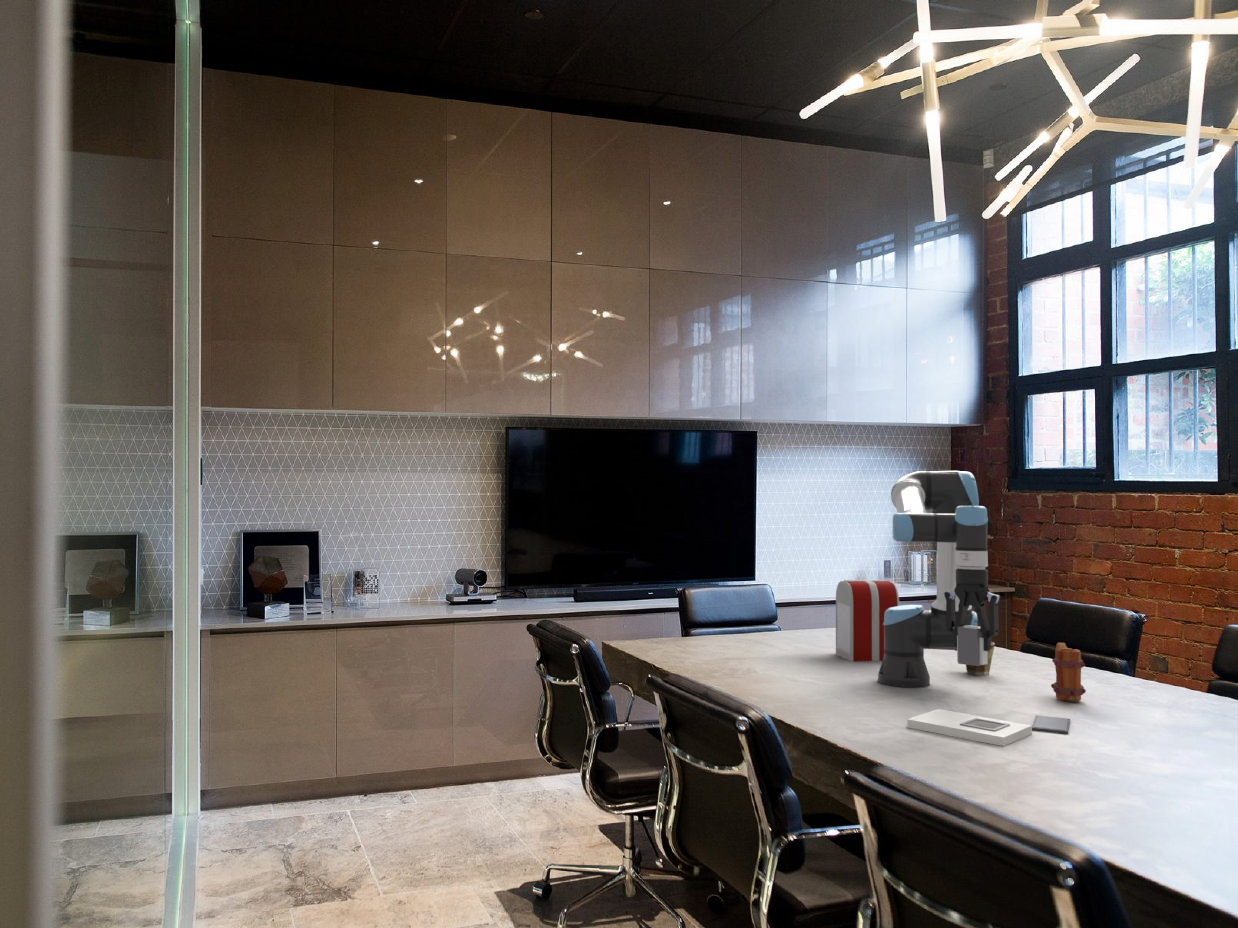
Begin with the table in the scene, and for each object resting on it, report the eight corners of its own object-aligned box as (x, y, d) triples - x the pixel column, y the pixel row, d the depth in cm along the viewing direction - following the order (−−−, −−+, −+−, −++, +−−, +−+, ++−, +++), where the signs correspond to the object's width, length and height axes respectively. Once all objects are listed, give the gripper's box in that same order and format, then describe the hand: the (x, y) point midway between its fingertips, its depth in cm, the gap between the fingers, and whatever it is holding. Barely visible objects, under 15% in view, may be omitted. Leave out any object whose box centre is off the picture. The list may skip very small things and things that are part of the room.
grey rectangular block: (958, 663, 234) (957, 625, 235) (967, 661, 238) (966, 624, 238) (977, 665, 231) (977, 627, 231) (986, 663, 234) (986, 626, 235)
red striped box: (834, 653, 341) (834, 578, 342) (882, 652, 343) (881, 577, 344) (850, 661, 325) (850, 582, 326) (900, 660, 327) (900, 582, 328)
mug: (1088, 704, 260) (1088, 649, 261) (1057, 703, 262) (1056, 648, 262) (1074, 693, 275) (1074, 641, 275) (1044, 692, 276) (1044, 640, 277)
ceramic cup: (1001, 674, 304) (1001, 642, 304) (982, 677, 298) (981, 645, 298) (966, 667, 314) (965, 637, 315) (947, 670, 309) (946, 640, 309)
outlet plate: (907, 727, 234) (907, 717, 234) (937, 716, 245) (937, 707, 246) (1003, 746, 217) (1003, 735, 217) (1031, 733, 228) (1031, 724, 229)
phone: (1031, 732, 232) (1031, 727, 232) (1035, 719, 245) (1035, 714, 245) (1067, 736, 228) (1067, 730, 228) (1070, 723, 242) (1070, 718, 242)
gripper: (930, 566, 239) (930, 659, 238) (1000, 570, 226) (1001, 668, 225) (944, 565, 244) (945, 656, 243) (1014, 569, 231) (1015, 665, 230)
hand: (972, 662), depth 234 cm, fingers closed on grey rectangular block, 5 cm apart
